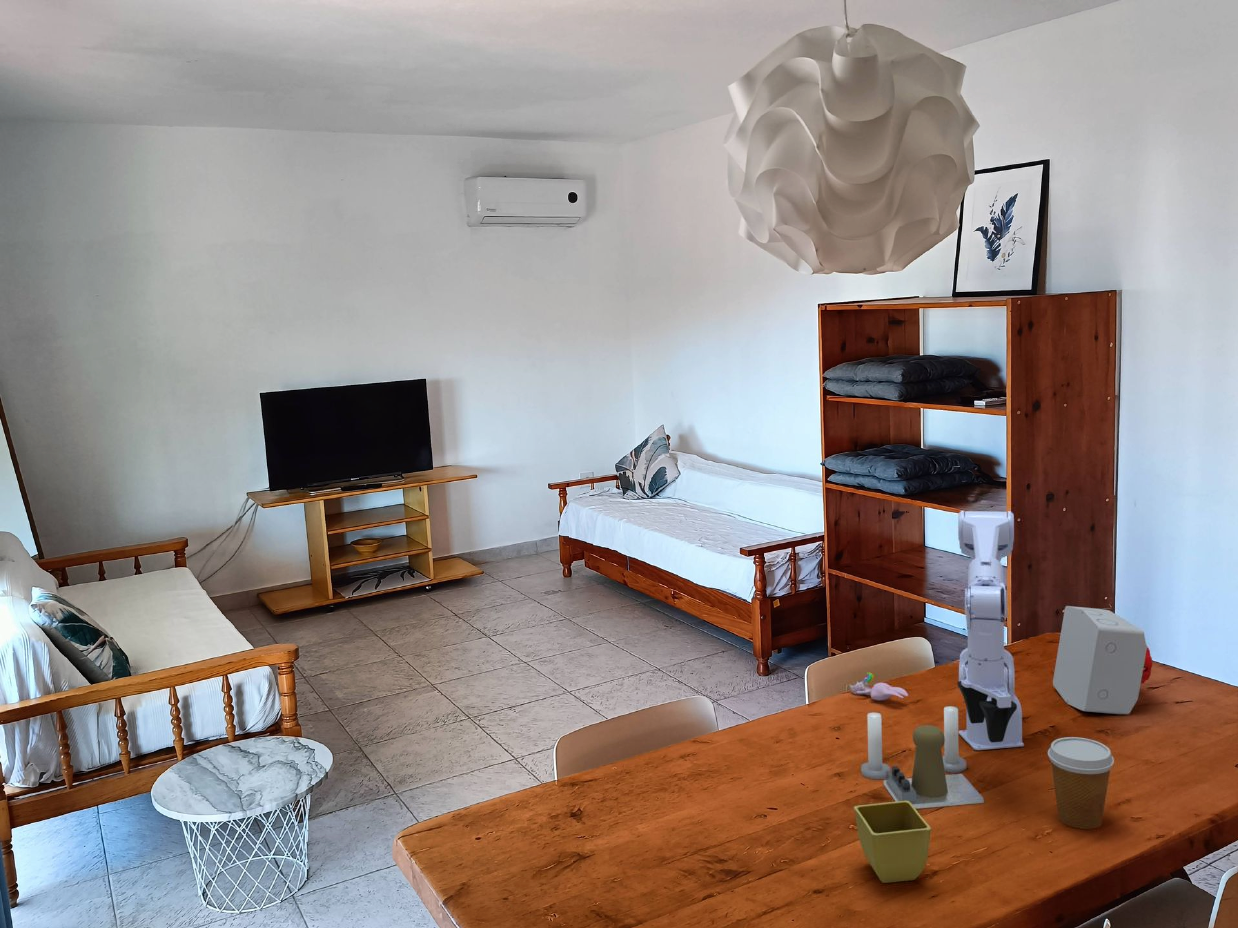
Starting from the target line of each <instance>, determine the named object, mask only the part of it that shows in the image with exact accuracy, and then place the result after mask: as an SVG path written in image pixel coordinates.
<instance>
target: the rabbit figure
mask: <svg viewBox="0 0 1238 928" xmlns="http://www.w3.org/2000/svg"><path fill="white" fill-rule="evenodd" d="M866 674H867V677H864V678H863V680H862V681H860V682H859V681H858V680H856V682H855V681H854V680H853V685H852V684H850V683H849V684H848V683H845V684H846V686H845V692H848V691H849V690H851V692H852V694H853V695H857V696H859V695H860V696H861V695H867V696H870V697H871V699H872V700H874V701H877V702H879V701H880V702H882V701H885V700H889V699H890V698H891V696H896V697H898V698H900V699H904V697H909V694H908V692H907V691H906V690H905V689H904V688H902V687H899V686H898V687H897V686H895V687H894V686H891V685H889V683H885V682H878V683H875V684H873V686H872V687H871V686H869V684H868V683H872V682H873V681H874V679H875V676H874V674H873V673H872V672H866Z"/></svg>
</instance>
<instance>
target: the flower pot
mask: <svg viewBox="0 0 1238 928" xmlns="http://www.w3.org/2000/svg"><path fill="white" fill-rule="evenodd" d="M853 810H854V815H855V816H854V817H855V823H856V829H857V835H858V840H859V843H860V846H861V848H862V850H863V853H864V856H865V858H866V859H867V862H868V863H869V865H870V866H871V868H872V870H873V871H874V872H875V874H876V876H877V878H878V879H879V881H880V882H881V883H883V884H888V883H897V882H905V881H914V880H916V879H917V878H918V877H919V876H920V874H921V873H922V871H923V870H924V868H925V866H926V863H927V861H928V856H929V849H930V848H929V847H930V839H931V831H932V827H931V826H930V825H929V823H927V821H926V820H925V819H924V818H923V817H922V816H921V815H920V813H919V811H918V810H917V809H915V808H914V806H913V805H912V804H911V803H910V802H909V801H898V802H896V801H890V802H889V801H888V802H881V803H869V804H862V805H860V804H859V805H855V806H854V807H853Z"/></svg>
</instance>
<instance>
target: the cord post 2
mask: <svg viewBox="0 0 1238 928" xmlns="http://www.w3.org/2000/svg"><path fill="white" fill-rule="evenodd" d="M943 733H944V738H945V742H944V745H943V746H944V748H943V749H944V755H942V757H943V763H944V770H945V773H949V772H950V774H961V773H964V772H965V771H966V770H967V760H966V759H964V758H963V757H960V756H959V709H958V707H955V706H950V705H949V706H944V708H943Z"/></svg>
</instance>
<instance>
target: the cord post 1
mask: <svg viewBox="0 0 1238 928" xmlns="http://www.w3.org/2000/svg"><path fill="white" fill-rule="evenodd" d="M866 716H867V752H868V753H867V754H868V760H867V762H864V763H862V764H861V766H860V767H861V768H860V770H861V775H862V776H863V777H865V778H866V777H867V778H866V779H869V778H870V780H875V779H876V780H877V779H880V780H885V779H886V771H890V770H891V768H890V765H888V764H887V763H884V762H883V742H882V741H883V740H882V739H883V737H882V736H883V735H882V730H883V729H882V714H881V713H879V712H868V713H867V715H866ZM877 781H878V780H877Z"/></svg>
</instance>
